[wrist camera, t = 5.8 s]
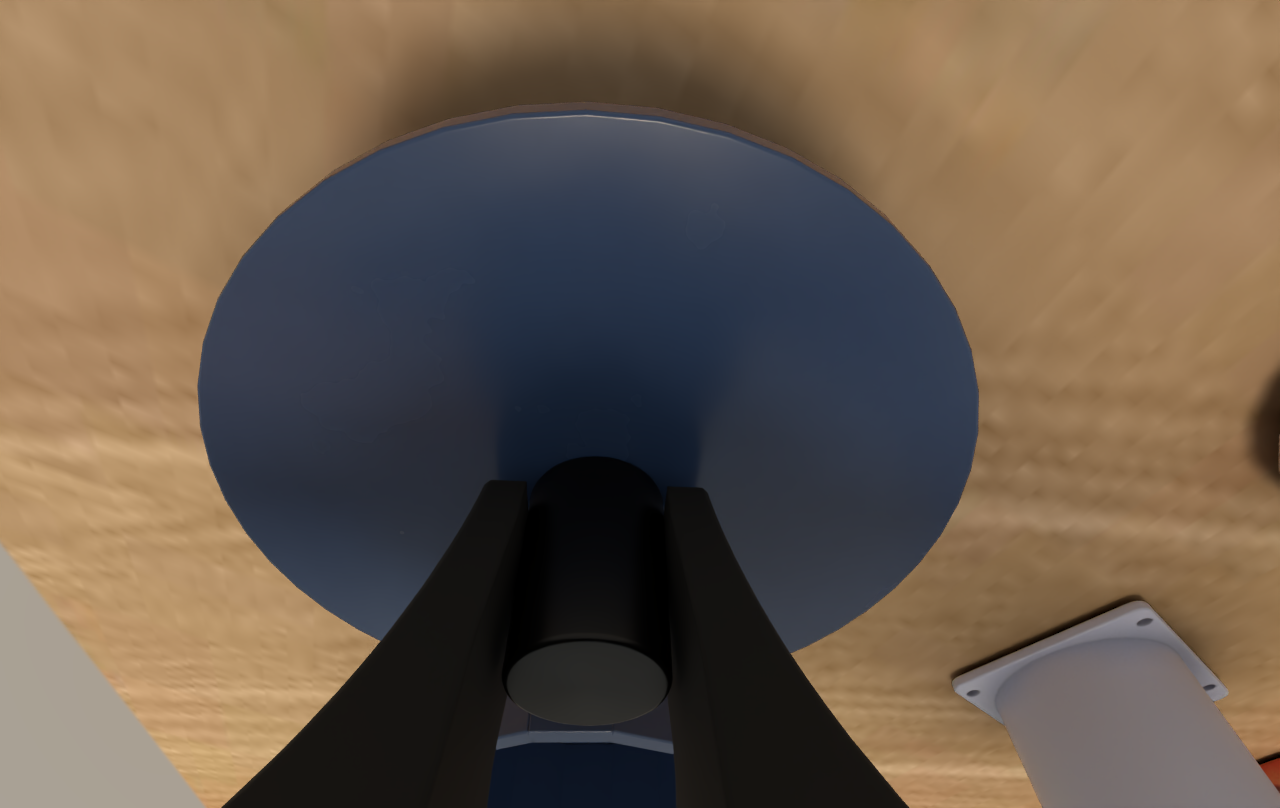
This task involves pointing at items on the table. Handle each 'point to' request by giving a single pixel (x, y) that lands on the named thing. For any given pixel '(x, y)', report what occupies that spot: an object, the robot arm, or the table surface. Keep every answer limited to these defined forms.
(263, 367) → the pan lid
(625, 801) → the pan
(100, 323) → the table surface
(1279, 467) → the donut
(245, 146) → the table surface
